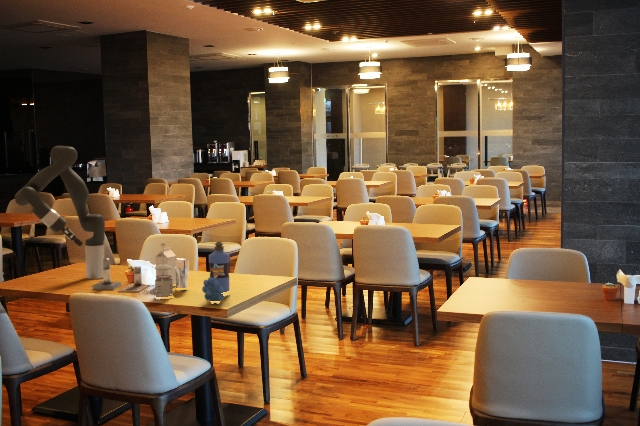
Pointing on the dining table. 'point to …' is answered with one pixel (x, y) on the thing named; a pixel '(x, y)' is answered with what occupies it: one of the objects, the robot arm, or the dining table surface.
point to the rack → (134, 288)
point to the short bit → (137, 276)
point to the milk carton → (169, 260)
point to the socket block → (106, 286)
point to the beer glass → (181, 272)
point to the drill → (106, 271)
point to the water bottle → (220, 266)
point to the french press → (166, 285)
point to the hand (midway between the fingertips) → (80, 243)
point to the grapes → (212, 290)
